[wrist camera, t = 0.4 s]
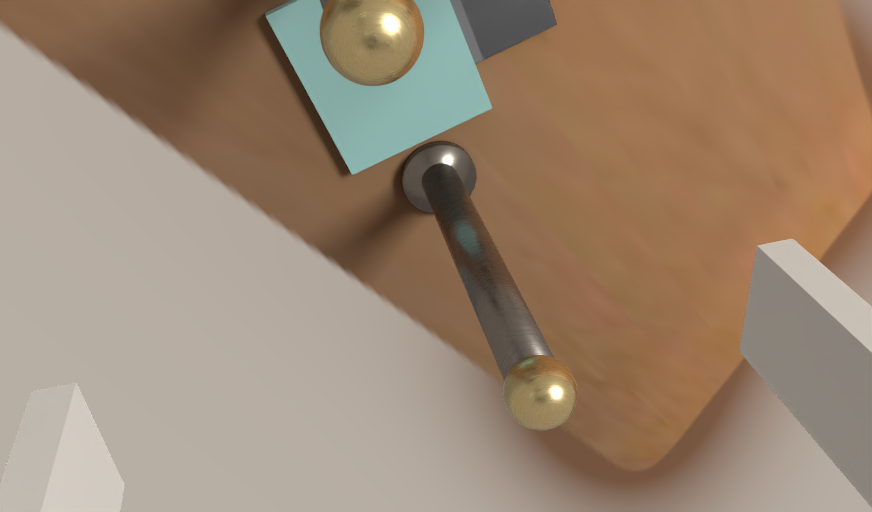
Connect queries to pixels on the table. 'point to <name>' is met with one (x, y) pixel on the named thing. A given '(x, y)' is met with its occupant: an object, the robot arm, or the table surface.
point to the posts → (453, 209)
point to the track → (500, 23)
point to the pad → (388, 104)
